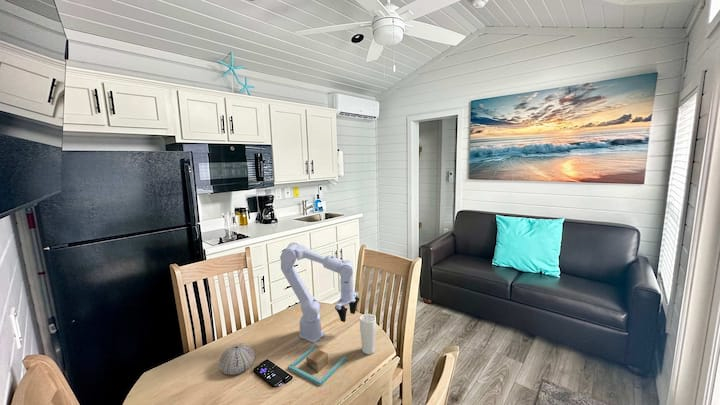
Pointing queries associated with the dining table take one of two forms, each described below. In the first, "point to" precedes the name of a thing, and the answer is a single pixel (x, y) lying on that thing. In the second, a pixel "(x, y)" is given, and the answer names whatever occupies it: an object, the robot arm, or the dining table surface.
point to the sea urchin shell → (237, 359)
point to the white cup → (368, 333)
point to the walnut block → (317, 360)
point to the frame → (308, 376)
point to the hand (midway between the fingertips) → (347, 317)
